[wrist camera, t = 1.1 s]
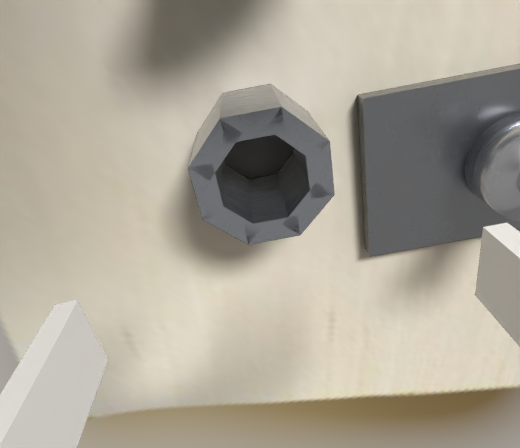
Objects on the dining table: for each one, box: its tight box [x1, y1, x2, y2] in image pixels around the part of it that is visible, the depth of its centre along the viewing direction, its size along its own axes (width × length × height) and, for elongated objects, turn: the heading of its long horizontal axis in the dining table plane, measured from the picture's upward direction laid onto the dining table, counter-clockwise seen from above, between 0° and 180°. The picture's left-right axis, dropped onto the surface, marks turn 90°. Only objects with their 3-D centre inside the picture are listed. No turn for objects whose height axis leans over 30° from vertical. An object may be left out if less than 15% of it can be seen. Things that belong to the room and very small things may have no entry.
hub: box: [188, 84, 334, 245], centre depth 24 cm, size 7×7×6 cm
